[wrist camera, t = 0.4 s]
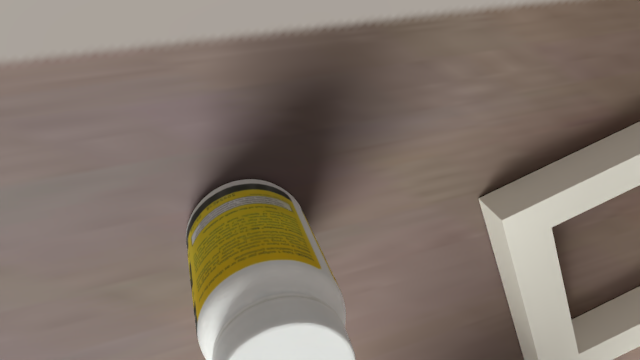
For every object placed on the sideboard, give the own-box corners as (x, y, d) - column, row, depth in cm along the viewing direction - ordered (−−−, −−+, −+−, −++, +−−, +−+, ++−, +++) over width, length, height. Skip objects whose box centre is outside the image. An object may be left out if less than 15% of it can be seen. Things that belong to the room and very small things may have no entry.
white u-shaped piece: (709, 273, 33) (741, 295, 31) (525, 364, 32) (547, 392, 30) (699, 92, 27) (737, 107, 25) (478, 198, 27) (501, 220, 25)
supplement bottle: (159, 228, 23) (164, 385, 16) (255, 152, 23) (306, 277, 16) (237, 300, 26) (274, 466, 18) (326, 232, 25) (399, 373, 18)
